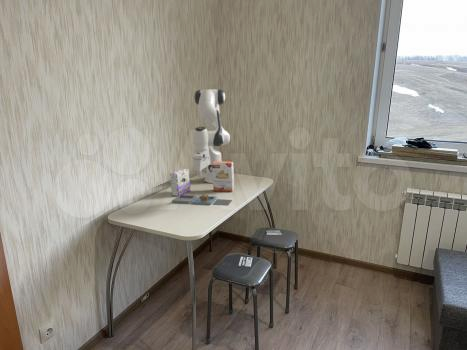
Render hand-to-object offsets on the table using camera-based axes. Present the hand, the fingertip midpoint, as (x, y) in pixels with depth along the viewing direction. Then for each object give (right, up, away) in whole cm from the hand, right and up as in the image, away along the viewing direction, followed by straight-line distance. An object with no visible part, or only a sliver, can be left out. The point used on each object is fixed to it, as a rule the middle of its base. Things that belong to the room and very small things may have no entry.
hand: (203, 175), depth 220 cm
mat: (+12, -18, +1) cm, 22 cm away
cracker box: (+12, -11, +28) cm, 32 cm away
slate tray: (+1, -18, +5) cm, 18 cm away
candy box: (-18, -13, +25) cm, 33 cm away
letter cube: (+1, -17, +5) cm, 18 cm away
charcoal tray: (-13, -17, +8) cm, 23 cm away
